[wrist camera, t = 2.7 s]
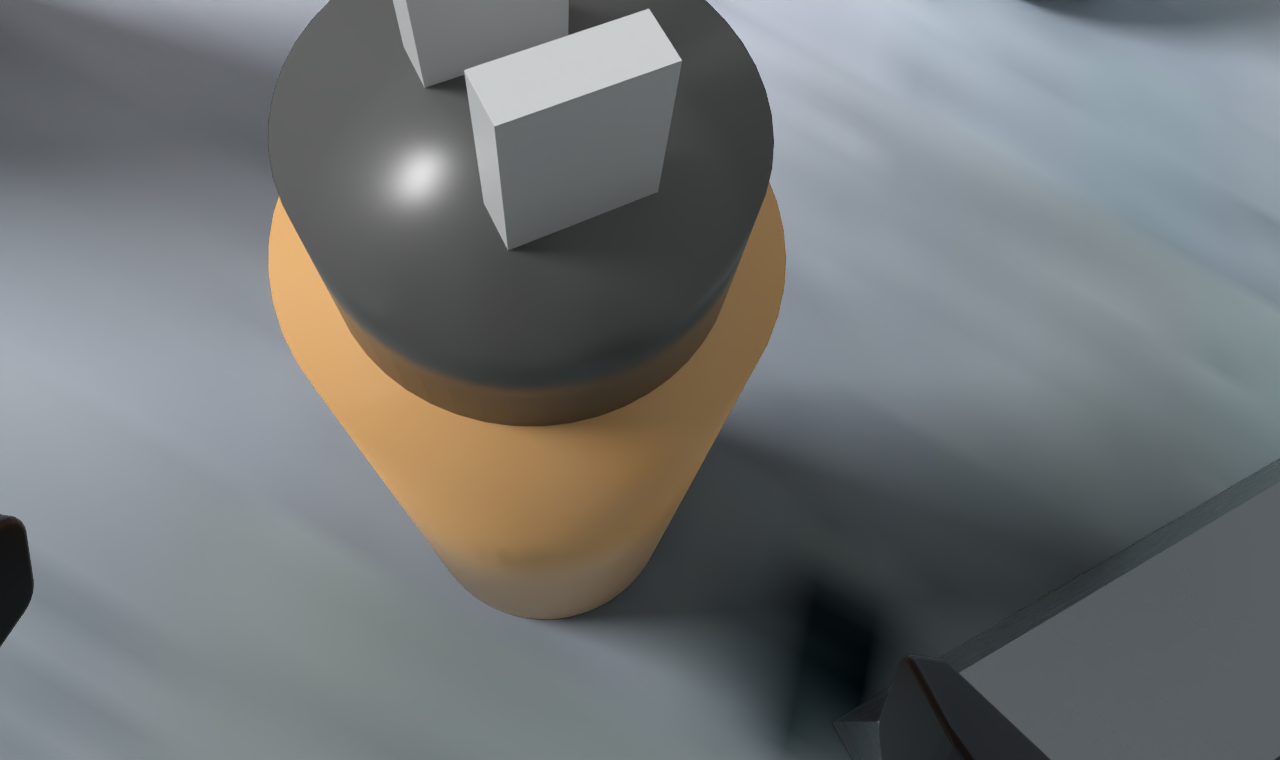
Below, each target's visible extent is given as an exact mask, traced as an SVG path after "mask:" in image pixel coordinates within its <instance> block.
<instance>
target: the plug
mask: <svg viewBox="0 0 1280 760" xmlns="http://www.w3.org/2000/svg"><path fill="white" fill-rule="evenodd" d="M773 148H774V136H773V125H772V114H771V110H770V106H769V102H768V98H767V94H766V90H765V87H764V85H763V82H762V80H761V77H760V75H759V72H758V70H757V67H756V65H755V63H754V62H753V60H752V58H751V56H750V55H749V53H748V51H747V49H746V48H745V46H744V44H743V43H742V41H741V40H740V39H739V37H738V36H737V35H736V33H735V32H734V31H733V29H732V28H731V27H730V25H729V24H728V23H727V22H726V20H725V19H724V18H723V17H722V16H721V15H720V14H719V13H718V12H717V11H716V10H715V9H714V8H713V7H712V6H711V5H710V4H709V3H708V2H707V1H706V0H330V1H329V2H328V3H327V5H326V6H325V7H324V8H323V9H322V10H321V11H320V12H319V13H318V14H317V15H316V16H315V17H314V18H313V19H312V20H311V21H310V23H309V24H308V26H307V27H306V28H305V30H304V31H303V32H302V34H301V35H300V37H299V38H298V39H297V41H296V42H295V44H294V46H293V48H292V49H291V51H290V53H289V55H288V57H287V59H286V61H285V63H284V65H283V67H282V69H281V72H280V75H279V78H278V81H277V84H276V87H275V90H274V92H273V97H272V103H271V109H270V115H269V120H268V150H269V156H270V162H271V169H272V175H273V179H274V182H275V185H276V188H277V191H278V194H279V198H278V201H277V204H276V207H275V210H274V213H273V219H272V226H271V232H270V238H269V280H270V286H271V293H272V300H273V305H274V308H275V311H276V314H277V318H278V321H279V324H280V327H281V330H282V333H283V336H284V338H285V340H286V342H287V344H288V346H289V348H290V350H291V352H292V354H293V356H294V358H295V360H296V362H297V363H298V365H299V366H300V368H301V369H302V371H303V372H304V373H305V375H306V376H307V378H308V379H309V380H310V382H311V383H312V385H313V386H314V388H315V389H316V390H317V392H318V393H319V395H320V396H321V397H322V399H323V400H324V401H325V403H326V404H327V405H328V407H329V408H330V409H331V411H332V412H333V413H334V415H335V416H336V418H337V419H338V420H339V422H340V423H341V424H342V426H343V427H344V428H345V430H346V431H347V432H348V434H349V435H350V437H351V438H352V439H353V441H354V442H355V443H356V445H357V446H358V447H359V449H360V450H361V451H362V453H363V454H364V456H365V457H366V458H367V460H368V461H369V462H370V464H371V465H372V466H373V468H374V469H375V470H376V472H377V473H378V475H379V476H380V477H381V479H382V480H383V481H384V483H385V484H386V485H387V487H388V488H389V489H390V491H391V492H392V494H393V495H394V496H395V498H396V499H397V500H398V502H399V503H400V504H401V506H402V507H403V508H404V510H405V511H406V513H407V514H408V515H409V517H410V518H411V519H412V521H413V522H414V523H415V525H416V526H417V527H418V529H419V530H420V532H421V533H422V534H423V536H424V537H425V538H426V540H427V541H428V542H429V544H430V545H431V546H432V548H433V549H434V551H435V552H436V553H437V555H438V556H439V557H440V559H441V560H442V561H443V563H444V564H445V565H446V567H447V568H448V570H449V571H450V572H451V574H452V575H453V576H454V578H455V579H456V580H457V581H458V582H459V583H460V584H461V585H462V586H463V587H464V588H465V589H466V590H467V591H469V592H470V593H471V594H472V595H474V596H475V597H476V598H477V599H479V600H481V601H482V602H484V603H486V604H487V605H489V606H491V607H493V608H495V609H498V610H500V611H502V612H505V613H508V614H511V615H515V616H519V617H524V618H532V619H559V618H566V617H571V616H575V615H578V614H582V613H586V612H588V611H590V610H593V609H595V608H597V607H600V606H601V605H603V604H605V603H606V602H608V601H610V600H612V599H613V598H615V597H616V596H617V595H618V594H620V593H621V592H622V591H624V590H625V589H626V588H627V587H628V586H629V585H630V584H631V583H632V582H633V581H634V580H635V579H636V578H637V577H638V576H639V574H640V573H641V572H642V570H643V569H644V567H645V566H646V565H647V563H648V561H649V560H650V558H651V556H652V554H653V552H654V551H655V549H656V547H657V545H658V543H659V541H660V540H661V538H662V536H663V534H664V532H665V530H666V529H667V527H668V525H669V523H670V521H671V519H672V518H673V516H674V514H675V512H676V510H677V509H678V507H679V505H680V503H681V501H682V499H683V498H684V496H685V494H686V492H687V490H688V488H689V487H690V485H691V483H692V481H693V479H694V477H695V476H696V474H697V472H698V470H699V468H700V467H701V465H702V463H703V461H704V459H705V457H706V456H707V454H708V452H709V450H710V448H711V446H712V445H713V443H714V441H715V439H716V437H717V435H718V434H719V432H720V430H721V428H722V426H723V425H724V423H725V421H726V419H727V417H728V415H729V414H730V412H731V410H732V408H733V406H734V404H735V403H736V401H737V399H738V397H739V395H740V393H741V392H742V390H743V388H744V386H745V384H746V383H747V381H748V379H749V377H750V375H751V373H752V372H753V370H754V368H755V366H756V364H757V362H758V361H759V359H760V357H761V355H762V353H763V352H764V350H765V348H766V346H767V344H768V342H769V339H770V336H771V334H772V331H773V328H774V326H775V323H776V320H777V318H778V314H779V309H780V305H781V300H782V295H783V291H784V283H785V266H786V252H785V241H784V229H783V225H782V221H781V217H780V212H779V208H778V204H777V201H776V198H775V195H774V193H773V190H772V188H771V185H770V183H769V179H770V175H771V170H772V162H773Z"/></svg>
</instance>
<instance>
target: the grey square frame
mask: <svg viewBox="0 0 1280 760" xmlns="http://www.w3.org/2000/svg"><path fill="white" fill-rule="evenodd" d="M939 659H942V660H944V661H946V662H947V663H949V664H950V665H951V666H952V667H953V668H954V669H955V670H956V671H957V672H958V673H959V674H961V675H962V676H963V677H964V678H965V679H966V680H967V681H968V682H969V683H970V684H971V685H972V686H973V687H974V688H975V689H976V690H978V691H979V692H980V693H981V694H982V695H983V696H984V697H985V698H986V699H987V700H988V701H989V702H990V703H991V704H992V705H993V706H994V707H996V708H997V709H998V710H999V711H1000V712H1001V713H1002V714H1003V715H1004V716H1005V717H1006V718H1007V719H1008V720H1009V721H1010V722H1011V723H1012V724H1014V725H1015V726H1016V727H1017V728H1018V729H1019V730H1020V731H1021V732H1022V733H1023V734H1024V735H1025V736H1026V737H1027V738H1028V739H1029V740H1031V741H1032V742H1033V743H1034V744H1035V745H1036V746H1037V747H1038V748H1039V749H1040V750H1041V751H1042V752H1043V753H1044V754H1045V755H1046V756H1047V757H1049V758H1050V759H1051V760H1275V759H1276V758H1277V757H1279V756H1280V459H1278V460H1276V461H1275V462H1273V463H1271V464H1270V465H1268V466H1266V467H1264V468H1263V469H1261V470H1259V471H1258V472H1256V473H1254V474H1252V475H1251V476H1249V477H1247V478H1246V479H1244V480H1242V481H1241V482H1239V483H1237V484H1235V485H1234V486H1232V487H1230V488H1229V489H1227V490H1225V491H1224V492H1222V493H1220V494H1218V495H1217V496H1215V497H1213V498H1212V499H1210V500H1208V501H1206V502H1205V503H1203V504H1201V505H1200V506H1198V507H1196V508H1195V509H1193V510H1191V511H1189V512H1188V513H1186V514H1184V515H1183V516H1181V517H1179V518H1178V519H1176V520H1174V521H1172V522H1171V523H1169V524H1167V525H1166V526H1164V527H1162V528H1160V529H1159V530H1157V531H1155V532H1154V533H1152V534H1150V535H1149V536H1147V537H1145V538H1143V539H1142V540H1140V541H1138V542H1137V543H1135V544H1133V545H1132V546H1130V547H1128V548H1126V549H1125V550H1123V551H1121V552H1120V553H1118V554H1116V555H1114V556H1113V557H1111V558H1109V559H1108V560H1106V561H1104V562H1103V563H1101V564H1099V565H1097V566H1096V567H1094V568H1092V569H1091V570H1089V571H1087V572H1086V573H1084V574H1082V575H1080V576H1079V577H1077V578H1075V579H1074V580H1072V581H1070V582H1068V583H1067V584H1065V585H1063V586H1062V587H1060V588H1058V589H1057V590H1055V591H1053V592H1051V593H1050V594H1048V595H1046V596H1045V597H1043V598H1041V599H1039V600H1038V601H1036V602H1034V603H1033V604H1031V605H1029V606H1028V607H1026V608H1024V609H1022V610H1021V611H1019V612H1017V613H1016V614H1014V615H1012V616H1011V617H1009V618H1007V619H1005V620H1004V621H1002V622H1000V623H999V624H997V625H995V626H993V627H992V628H990V629H988V630H987V631H985V632H983V633H982V634H980V635H978V636H976V637H975V638H973V639H971V640H970V641H968V642H966V643H965V644H963V645H961V646H959V647H958V648H956V649H954V650H953V651H951V652H949V653H947V654H946V655H944V656H942V657H941V658H939ZM889 689H890V688H888V689H886V690H884V691H883V692H881V693H879V694H878V695H876V696H874V697H873V698H871V699H869V700H867V701H866V702H864V703H862V704H861V705H859V706H857V707H855V708H854V709H852V710H850V711H849V712H847V713H845V714H844V715H842V716H840V717H838V718H837V719H835V720H833V721H832V724H833V725H834V727H835V729H836V731H837V733H838V735H839V737H840V738H841V740H842V742H843V744H844V746H845V748H846V750H847V751H848V753H849V755H850V757H851V759H852V760H882V759H881V750H880V742H879V721H880V716H881V712H882V709H883V706H884V703H885V701H886V698H887V695H888V692H889Z"/></svg>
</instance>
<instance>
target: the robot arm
mask: <svg viewBox="0 0 1280 760" xmlns="http://www.w3.org/2000/svg"><path fill="white" fill-rule="evenodd" d="M33 587H34V580H33V573H32V567H31V560H30V553H29V547H28V540H27V533H26V529H25V526H24V525H23V523H22V522H21V521H20V520H19V519H17V518H16V517H13V516H8V515H2V514H0V647H1V645H2V644H3V642H4V641H5V639H6V638H7V636H8V635H9V634H10V632H11V631H12V629H13V628H14V626H15V625H16V623H17V622H18V621H19V619H20V618H21V616H22V615H23V613H24V612H25V610H26V609H27V607H28V605H29V603H30V600H31V598H32V594H33ZM879 742H880V750H881V759H882V760H1051V759H1050V758H1049V757H1047V756H1046V755H1045V754H1044V753H1043V752H1042V751H1041V750H1040V749H1039V748H1038V747H1037V746H1036V745H1035V744H1034V743H1033V742H1032V741H1031V740H1029V739H1028V738H1027V737H1026V736H1025V735H1024V734H1023V733H1022V732H1021V731H1020V730H1019V729H1018V728H1017V727H1016V726H1015V725H1014V724H1012V723H1011V722H1010V721H1009V720H1008V719H1007V718H1006V717H1005V716H1004V715H1003V714H1002V713H1001V712H1000V711H999V710H998V709H997V708H996V707H994V706H993V705H992V704H991V703H990V702H989V701H988V700H987V699H986V698H985V697H984V696H983V695H982V694H981V693H980V692H979V691H978V690H976V689H975V688H974V687H973V686H972V685H971V684H970V683H969V682H968V681H967V680H966V679H965V678H964V677H963V676H962V675H961V674H959V673H958V672H957V671H956V670H955V669H954V668H953V667H952V666H951V665H950V664H949V663H947V662H946V661H944V660H942V659H938V658H931V657H925V656H918V655H907V656H905V657H903V658H902V660H901V661H900V663H899V665H898V667H897V670H896V673H895V675H894V678H893V681H892V684H891V687H890V689H889V692H888V695H887V698H886V701H885V703H884V706H883V709H882V712H881V716H880V721H879Z"/></svg>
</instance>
